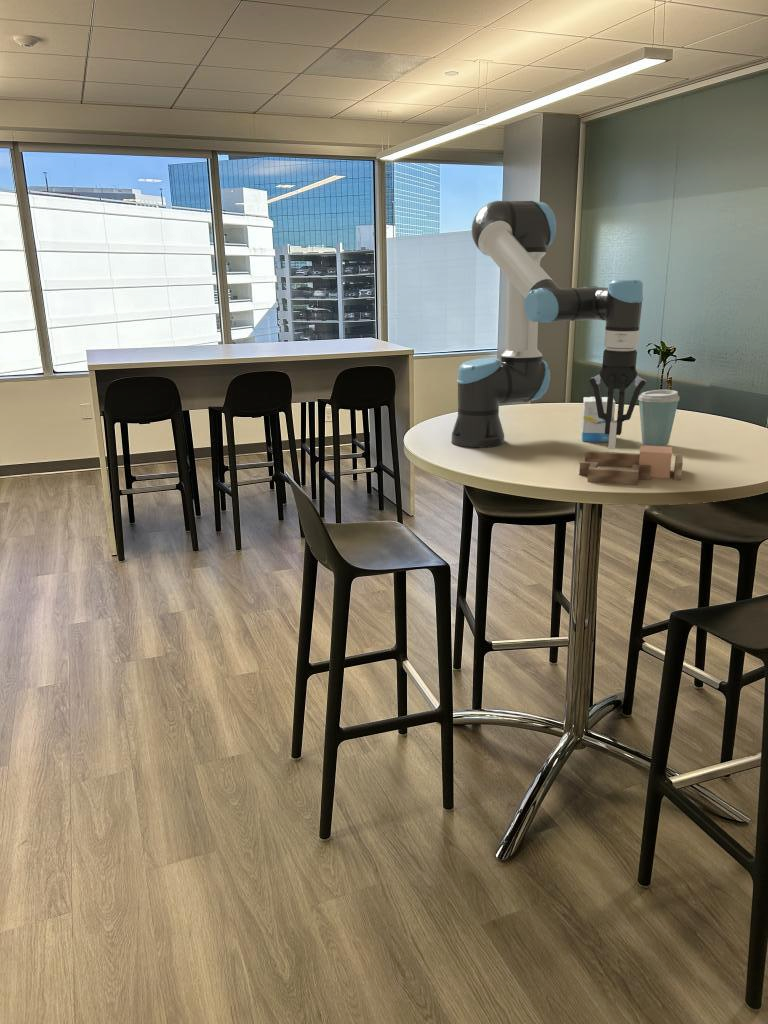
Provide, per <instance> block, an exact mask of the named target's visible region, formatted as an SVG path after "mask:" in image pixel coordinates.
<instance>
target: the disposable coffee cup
mask: <svg viewBox="0 0 768 1024" xmlns="http://www.w3.org/2000/svg"><path fill="white" fill-rule="evenodd" d="M680 399H681V398H680V395H679V391H677V390H672V389H654V390H653V389H652V390H648V391H643V392H642V393H640V394H639V395H638V398H637V400H638V405H639V415H640V416H639V418H640V419H639V420H640V428H641V441H642V445H643V446H662V447H668V444H669V443H670V439H671V435H672V430H673V425H674V421H675V417H676V413H677V409H678V404H679V401H680Z"/></svg>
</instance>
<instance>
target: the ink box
mask: <svg viewBox="0 0 768 1024" xmlns="http://www.w3.org/2000/svg"><path fill="white" fill-rule="evenodd" d="M601 397H602V403H603V409H604V413H606V410H607V399H608V396H601ZM615 411H616V401H615V399H614V398H613V409H612V419H611V420H615V413H616V412H615ZM605 423H606V422H605V420H604V419H600V418H599V417H598V412H597V406H596V400H595V396H584V397H583V401H582V415H581V430H580V431H581V432H580V436H581V440H582V442H593V443H595V442H600V443H601V442H602V443H609V434H605Z"/></svg>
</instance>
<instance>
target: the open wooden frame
mask: <svg viewBox="0 0 768 1024" xmlns="http://www.w3.org/2000/svg"><path fill="white" fill-rule="evenodd" d="M683 456H684V455H683V453H681V452H680V453H679V452H678V453H677V452H676V453H675V458H674V469H673V471H674V472H673V473H674V474H673V480H675V481H681V480H682V475H683V463H684V462H683V461H684V460H683V459H684V458H683ZM639 458H640V453H632V452H630V453H629V452H628V453H627V452H614V451H613V452H612V451H598V450H597V451H596V450H585V453H584V461H583V460H581V461H580V462H579V473H578V475H580V476H587V482H590V483H591V482H592V483H606V484H618V485H634V486H635V485H636V486H638V485H639V480H648V481H649V480H650V481H651V477H650V473H651V466H650V465H639ZM598 465H601V466H614V467H631V469H621V468H620V469H618V468H605V467H598Z"/></svg>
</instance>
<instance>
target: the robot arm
mask: <svg viewBox="0 0 768 1024" xmlns="http://www.w3.org/2000/svg"><path fill="white" fill-rule="evenodd" d="M556 233H557V219H556V216H555V214H554V210H552V208H551V207H550V205H548V204H547V203H545V202H544V201H543V202H542V201H537V200H536V201H534V200H495V201H491V202H488V203H487V204H485V205H484V206H482V207H481V208H479V210H478V211H477V213H476V214H475V216H474V218H473V220H472V223H471V236H472V239H473V242H474V244H475V246H476V248H477V249H478V250H479V252H480V253H482V254H483V255H484V256H487V257H490V258H491V259H492V260H493V262H494V263H495V265H497V266H498V268H499V269H500V270H501V271H502V273H503V274H504V275H505V276H506V277H507V279H508V280H507V313H506V314H507V316H506V318H507V319H506V320H507V321H506V349H505V350H504V351H503V352H502V353H501V355H500V359H499V358H497V357H484V358H475V359H472V360H468V361H464V362H463V363H461V364H460V365H459V367H458V373H457V417H456V420H455V423H454V426H453V430H452V432H451V443H452V444H453V445H456V446H461V447H466V448H467V447H468V448H490V447H496V446H500V445H501V446H502V444H504V443H505V432H504V428H503V425H502V422H501V419H500V415H499V414H500V405H502V404H503V405H504V404H511V403H513V404H514V403H528V402H532V401H536V400H537V401H538V400H539V399H541V398H542V397H543V396H544V395H545V394H546V392H547V391H548V388H549V387H550V381H551V370H550V369H549V367H550V366H549V364H548V363H547V362H546V361H545V360H543V353H542V352H541V351H540V350H539V348H538V336H539V335H538V333H539V332H538V331H539V330H538V329H539V328H538V327H539V323H541V324H542V323H543V324H546V323H547V324H548V323H556V322H558V323H559V322H573V321H574V322H575V321H604V322H605V326H604V327H605V328H604V343H603V347H605V349H604V350H603V352H602V353H603V354H602V355H603V357H602V365H601V366H602V367H601V369H600V371H599V374H597V375H595V376H592V377H590V379H589V383H590V385H591V386H592V389H593V394H594V397H595V400H596V406H597V412H598V417H599V418H600V419H604V420H605V422H606V423H605V434H609V442H608V445H607V446H608V447H607V448H608V450H615V449H616V445H617V436H621V434H622V433H623V432H622V431H623V422H625V421H629V420H630V419H631V418H632V415H633V412H634V409H635V407H636V403H637V400H638V398H639V396H640V394H641V390H642V389H643V388H644V386H645V385H646V383H647V380H646V379H645V378H641V376H639V375H638V371H637V360H638V359H637V358H638V351H637V348H638V347H639V339H640V337H639V336H640V326H641V315H642V308H643V307H642V306H643V301H644V297H643V296H644V295H643V292H644V291H643V290H644V283H643V281H642V280H641V279H634V278H632V279H630V278H629V279H625V278H624V279H623V278H622V279H621V278H620V279H619V278H618V279H617V278H615V279H612V280H610V281H609V283H608V287H602V286H601V287H600V286H596V285H595V286H594V285H592V286H583V287H564V288H563V287H559V286H558V284H557V283H556V282H555V281H554V280H553V278H552V277H551V276H550V275H549V274H548V273H547V272H546V271H545V270H544V269H543V268H542V266H541V260H542V258H543V257H545V255H546V254H547V247H549V246H551V245H552V244H553V242H554V239H555V237H556ZM601 380H602V382H603V384H605V387H606V388H608V389H607V397H608V399H607V410H606V413H604V409H603V403H602V397H603V396H602V393H601V387H600V384H601ZM634 381H635V382H634ZM633 382H634V386H635V388H634V391H633V394H632V397H631V399H630V403H629V405H628V408H627V411H626V413H625V414H624V410H625V409H624V408H625V400H626V399H625V398H626V389H627V388H628V387H630V386H631V384H633ZM616 389H617V390H619V391H618V402H617V403H618V404H617V415H616V416H617V417H616V419H614V420H611V419H612V409H613V399H614V396H615V390H616Z"/></svg>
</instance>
